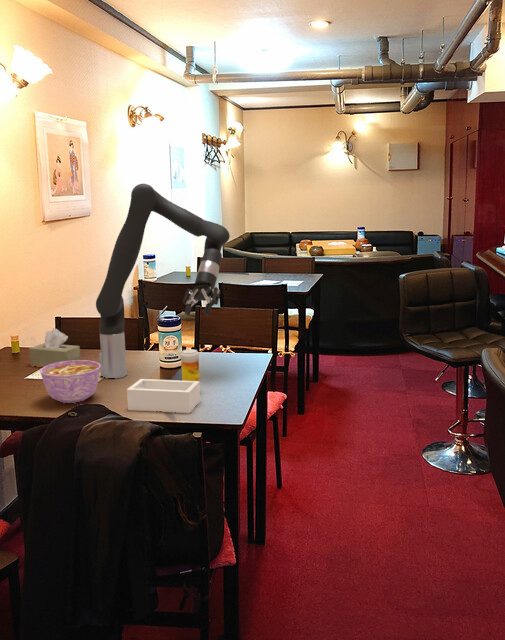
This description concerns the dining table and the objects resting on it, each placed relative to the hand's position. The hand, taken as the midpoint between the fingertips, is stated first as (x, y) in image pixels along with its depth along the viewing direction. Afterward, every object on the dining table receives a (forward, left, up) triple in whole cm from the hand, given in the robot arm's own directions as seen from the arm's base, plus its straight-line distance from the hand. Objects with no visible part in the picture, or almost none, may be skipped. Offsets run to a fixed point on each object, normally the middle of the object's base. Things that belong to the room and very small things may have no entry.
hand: (196, 314), depth 231 cm
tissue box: (-66, +16, -26) cm, 73 cm away
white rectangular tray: (-4, -26, -26) cm, 37 cm away
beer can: (+1, -11, -26) cm, 28 cm away
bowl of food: (-37, -25, -26) cm, 52 cm away
